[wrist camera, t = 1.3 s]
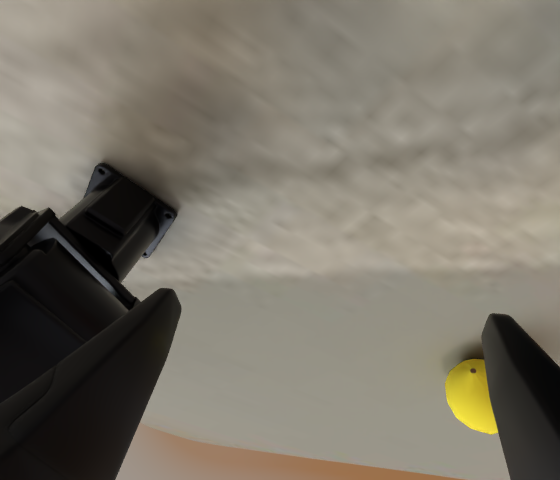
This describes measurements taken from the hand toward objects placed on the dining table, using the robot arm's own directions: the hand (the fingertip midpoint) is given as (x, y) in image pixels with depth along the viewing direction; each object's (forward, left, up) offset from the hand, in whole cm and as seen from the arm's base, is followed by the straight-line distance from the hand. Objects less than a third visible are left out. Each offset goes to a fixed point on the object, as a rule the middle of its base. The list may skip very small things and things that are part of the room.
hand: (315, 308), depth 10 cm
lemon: (-8, -23, -13) cm, 28 cm away
